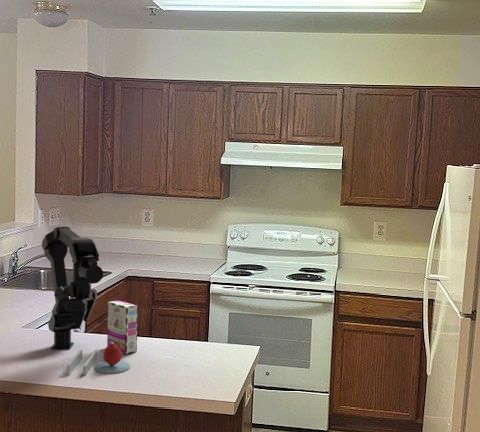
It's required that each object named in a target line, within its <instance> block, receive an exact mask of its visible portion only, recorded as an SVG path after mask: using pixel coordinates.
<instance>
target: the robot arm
mask: <svg viewBox="0 0 480 432" xmlns="http://www.w3.org/2000/svg"><path fill="white" fill-rule="evenodd" d="M41 247H42V250H43V251H44V252H43V253H44V256H45V257H46V258H47V260H48V261H49V262H50V269H51V276H52V277H51V278H52V285H53V293H54V295H53V297H54V300H55V302H54V303H55V304H54V306H53V308H52V309H51V316H50V318H49V321H48V323H47V325H48V330H49V331H51V332H52V333H53V344H52V345H51V346H50V349H53V350H54V349H56V350H70V349H71V348H72V347H73V346H74V344H75V343H74V342H72V330H80V329H81V326H82V324H83V322H87V321H88V319H89V317H90V314H91V312H92V309H93V307H94V305H95V303H96V301H97V298H98V291H97V290H96V288H92V285H93V284H94V285H95V284H98V283H99V282H101V280H103V277H104V271H103V269H102V268H101V266H99V265H98V262H100V259H99V258H100V254H99V252H98V249H97V246H96V243H95V242H94V240H93V239H92V238H89V237H82V236H80V235H78V234H77V233H75V232H74V231H73V230H71V227H69V226H66V225H65V226H56V227H54V228H53V229H52V231H50V232H48V233H47V234H45V235H44V238H43V239H42V241H41ZM68 253H69V254H70V256H71V262H72V281H70V284H68V278H67V271H66V265H65V259H66V256H67V254H68Z"/></svg>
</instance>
